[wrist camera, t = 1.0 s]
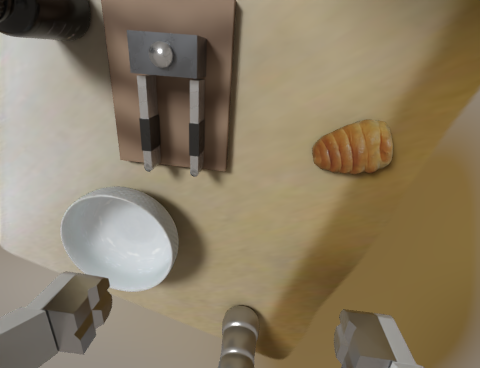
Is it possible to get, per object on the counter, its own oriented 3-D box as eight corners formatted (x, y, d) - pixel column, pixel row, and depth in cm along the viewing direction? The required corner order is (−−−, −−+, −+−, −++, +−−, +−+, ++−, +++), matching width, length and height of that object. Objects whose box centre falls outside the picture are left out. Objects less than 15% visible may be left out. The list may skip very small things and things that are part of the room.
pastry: (314, 175, 38) (318, 187, 34) (308, 129, 35) (312, 136, 32) (385, 163, 36) (397, 174, 33) (384, 113, 33) (397, 119, 30)
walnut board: (107, -8, 31) (99, -11, 30) (236, 1, 30) (234, -2, 29) (125, 156, 39) (120, 159, 38) (226, 167, 38) (225, 171, 37)
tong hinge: (145, 33, 31) (123, 29, 26) (206, 38, 30) (195, 34, 26) (148, 71, 33) (127, 73, 28) (206, 76, 32) (195, 79, 28)
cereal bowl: (104, 154, 40) (72, 172, 33) (204, 206, 42) (192, 232, 35) (79, 235, 47) (48, 263, 40) (165, 276, 49) (149, 308, 42)
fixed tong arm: (147, 74, 33) (135, 75, 30) (157, 75, 32) (146, 76, 30) (153, 162, 37) (143, 171, 35) (161, 163, 37) (152, 172, 34)
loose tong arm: (195, 78, 32) (188, 80, 29) (205, 79, 32) (199, 81, 29) (195, 167, 37) (189, 176, 34) (204, 168, 37) (198, 177, 34)
